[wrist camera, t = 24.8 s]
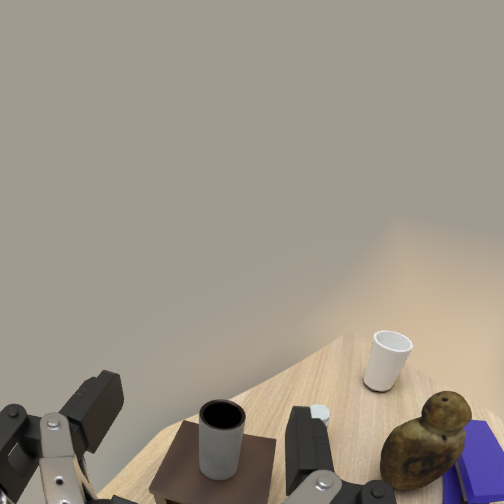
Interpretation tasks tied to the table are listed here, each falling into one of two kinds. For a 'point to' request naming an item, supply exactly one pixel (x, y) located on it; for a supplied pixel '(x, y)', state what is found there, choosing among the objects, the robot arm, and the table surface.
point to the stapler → (476, 469)
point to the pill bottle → (320, 413)
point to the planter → (220, 438)
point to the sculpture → (426, 443)
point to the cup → (386, 359)
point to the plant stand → (208, 490)
